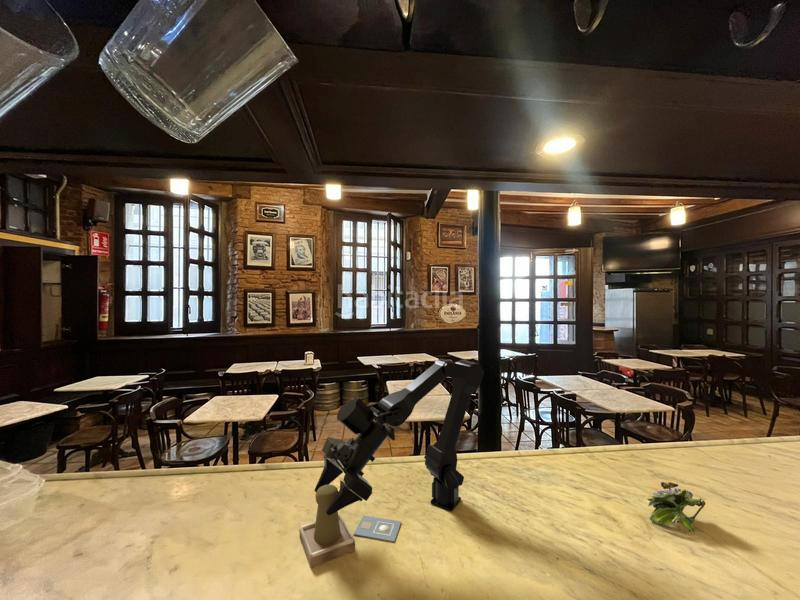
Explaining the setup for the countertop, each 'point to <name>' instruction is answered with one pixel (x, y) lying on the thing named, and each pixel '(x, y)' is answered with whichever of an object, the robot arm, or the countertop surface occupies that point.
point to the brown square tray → (326, 552)
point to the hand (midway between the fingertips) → (321, 502)
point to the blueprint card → (378, 528)
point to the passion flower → (673, 506)
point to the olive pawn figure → (326, 517)
